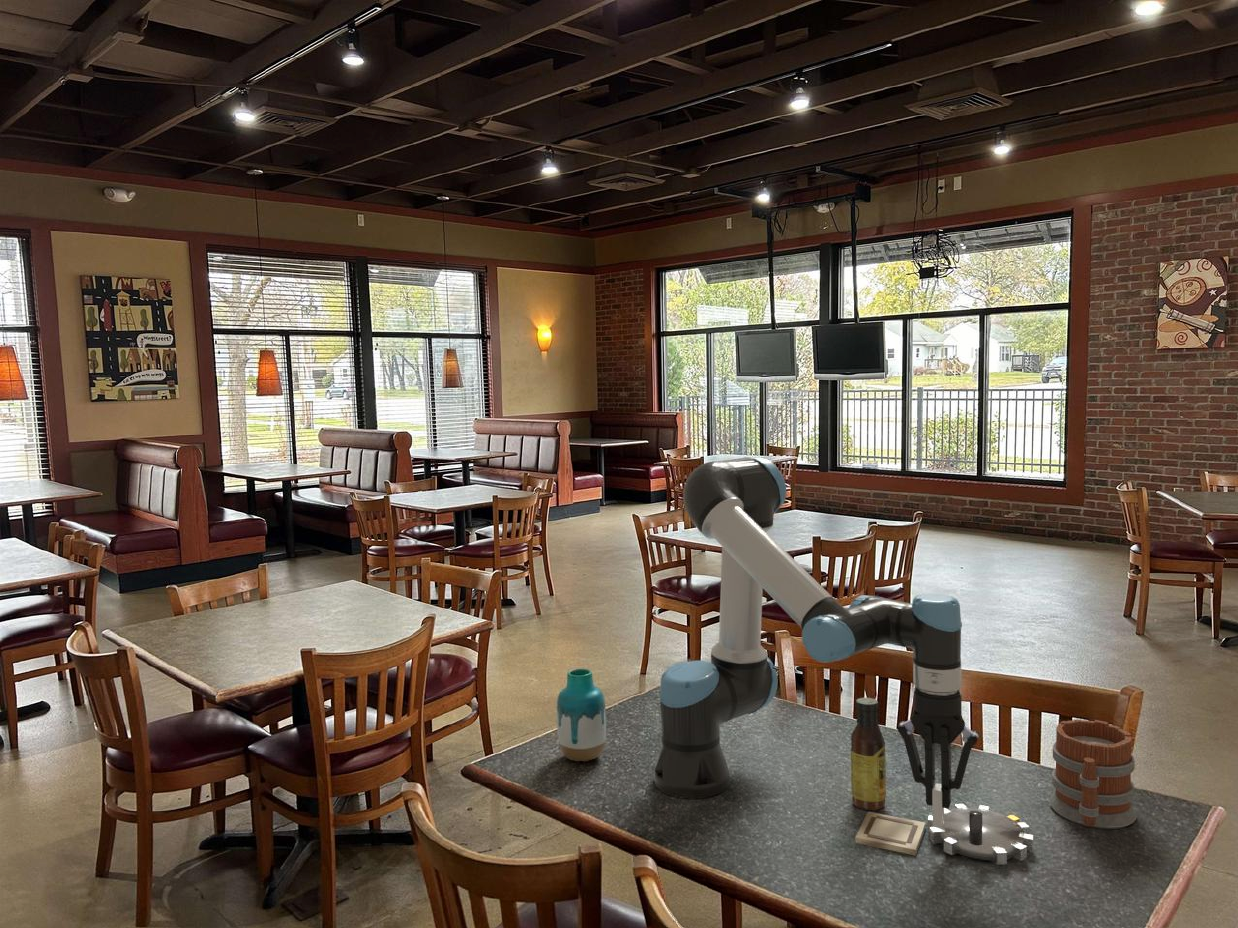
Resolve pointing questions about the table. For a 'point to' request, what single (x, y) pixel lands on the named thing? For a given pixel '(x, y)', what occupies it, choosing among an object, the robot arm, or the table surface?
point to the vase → (581, 717)
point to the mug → (1093, 774)
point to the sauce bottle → (868, 758)
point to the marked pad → (891, 833)
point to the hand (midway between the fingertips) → (938, 823)
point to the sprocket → (982, 834)
